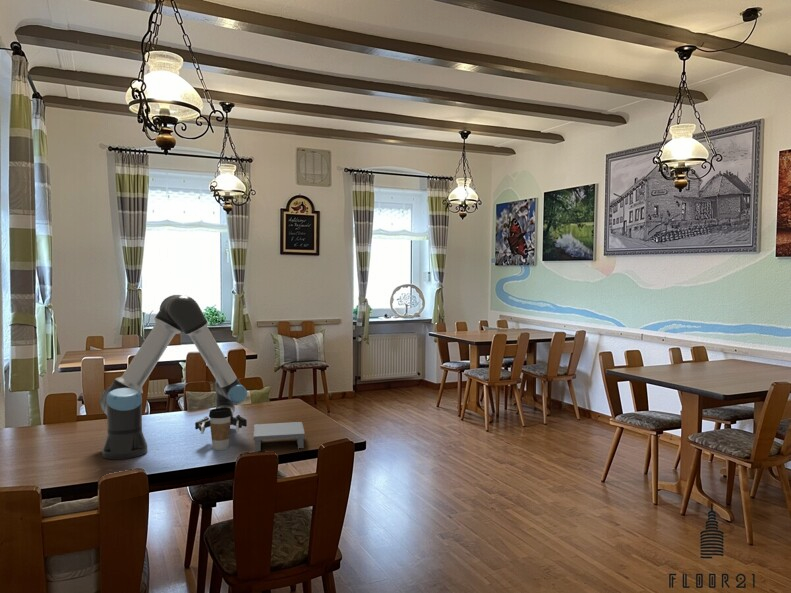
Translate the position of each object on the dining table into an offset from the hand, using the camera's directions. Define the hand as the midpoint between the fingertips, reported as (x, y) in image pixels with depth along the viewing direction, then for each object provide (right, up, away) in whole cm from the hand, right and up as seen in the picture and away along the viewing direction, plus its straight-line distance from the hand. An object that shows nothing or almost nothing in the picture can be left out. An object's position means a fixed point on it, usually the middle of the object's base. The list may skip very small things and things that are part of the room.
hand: (219, 429), depth 218 cm
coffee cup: (-1, -8, +4) cm, 9 cm away
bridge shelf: (+21, -8, +9) cm, 24 cm away
